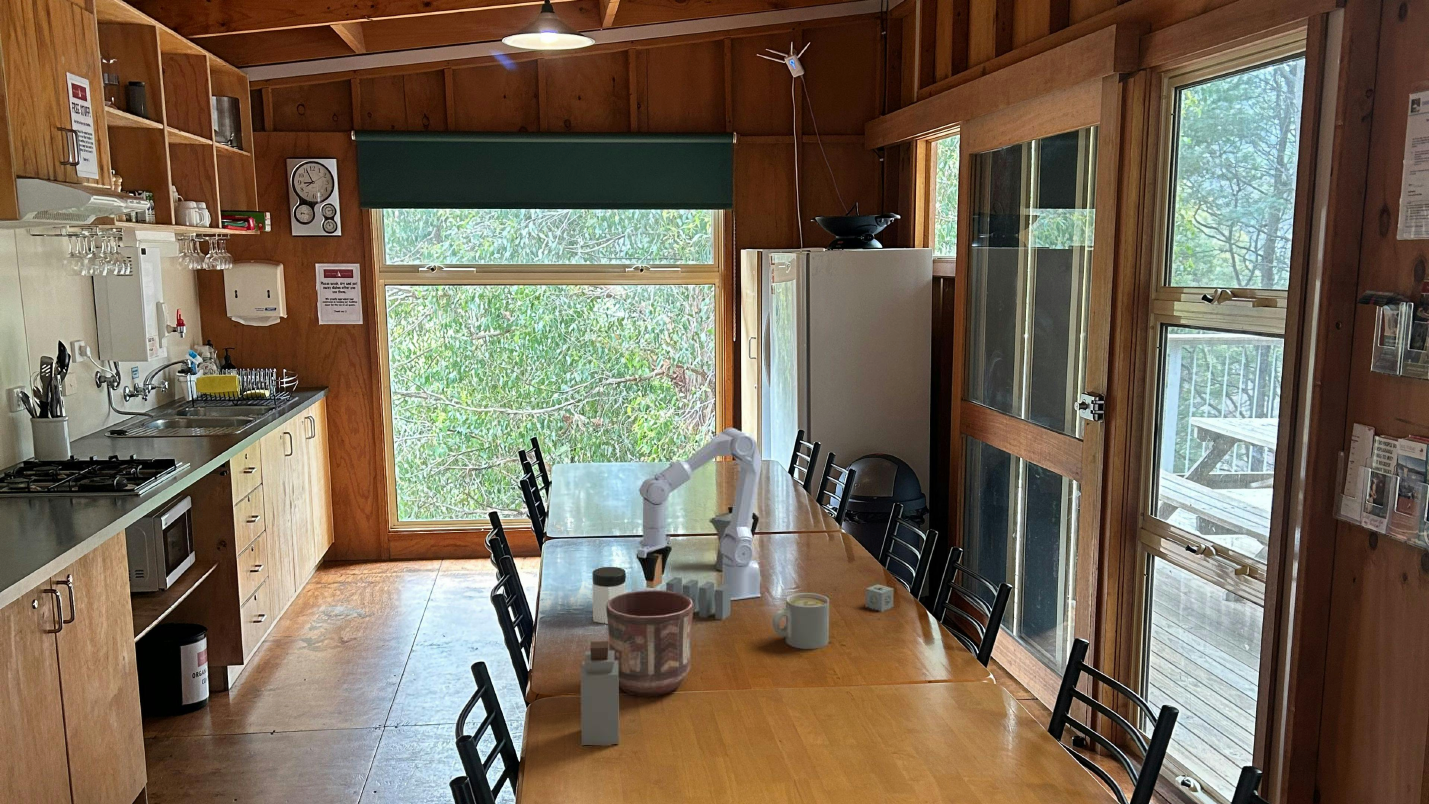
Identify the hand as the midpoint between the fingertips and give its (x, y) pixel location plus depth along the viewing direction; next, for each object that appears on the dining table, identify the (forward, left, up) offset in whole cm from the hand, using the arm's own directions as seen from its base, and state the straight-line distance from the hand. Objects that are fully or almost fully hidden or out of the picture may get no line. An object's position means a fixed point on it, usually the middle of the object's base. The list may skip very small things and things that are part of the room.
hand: (654, 577), depth 264 cm
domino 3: (-7, +7, -8) cm, 13 cm away
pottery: (+16, +47, -8) cm, 50 cm away
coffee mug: (-24, +36, -8) cm, 44 cm away
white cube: (-53, +22, -8) cm, 58 cm away
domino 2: (-4, +4, -8) cm, 9 cm away
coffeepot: (-32, -23, -8) cm, 40 cm away
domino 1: (0, 0, -2) cm, 2 cm away
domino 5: (-13, +13, -8) cm, 20 cm away
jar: (+13, +5, -8) cm, 16 cm away
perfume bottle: (+32, +66, -8) cm, 74 cm away
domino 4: (-10, +10, -8) cm, 16 cm away
